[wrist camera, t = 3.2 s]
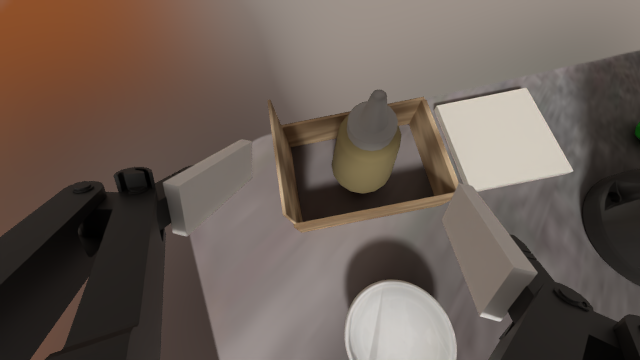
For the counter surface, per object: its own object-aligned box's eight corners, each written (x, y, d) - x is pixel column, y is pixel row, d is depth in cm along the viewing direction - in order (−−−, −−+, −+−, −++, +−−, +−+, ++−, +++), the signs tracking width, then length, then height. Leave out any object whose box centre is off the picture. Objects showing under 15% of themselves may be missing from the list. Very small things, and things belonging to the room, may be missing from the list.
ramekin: (330, 295, 31) (328, 302, 26) (409, 263, 32) (422, 264, 27) (366, 396, 27) (372, 427, 22) (454, 357, 28) (479, 379, 23)
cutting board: (565, 174, 34) (573, 171, 32) (467, 193, 34) (471, 191, 33) (520, 92, 38) (526, 87, 37) (433, 110, 38) (436, 105, 37)
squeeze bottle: (388, 200, 34) (439, 141, 17) (332, 199, 35) (326, 143, 18) (385, 148, 37) (426, 53, 20) (332, 149, 37) (327, 56, 20)
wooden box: (442, 204, 33) (496, 177, 22) (301, 232, 34) (283, 219, 22) (412, 120, 38) (444, 61, 26) (287, 145, 38) (266, 97, 27)
